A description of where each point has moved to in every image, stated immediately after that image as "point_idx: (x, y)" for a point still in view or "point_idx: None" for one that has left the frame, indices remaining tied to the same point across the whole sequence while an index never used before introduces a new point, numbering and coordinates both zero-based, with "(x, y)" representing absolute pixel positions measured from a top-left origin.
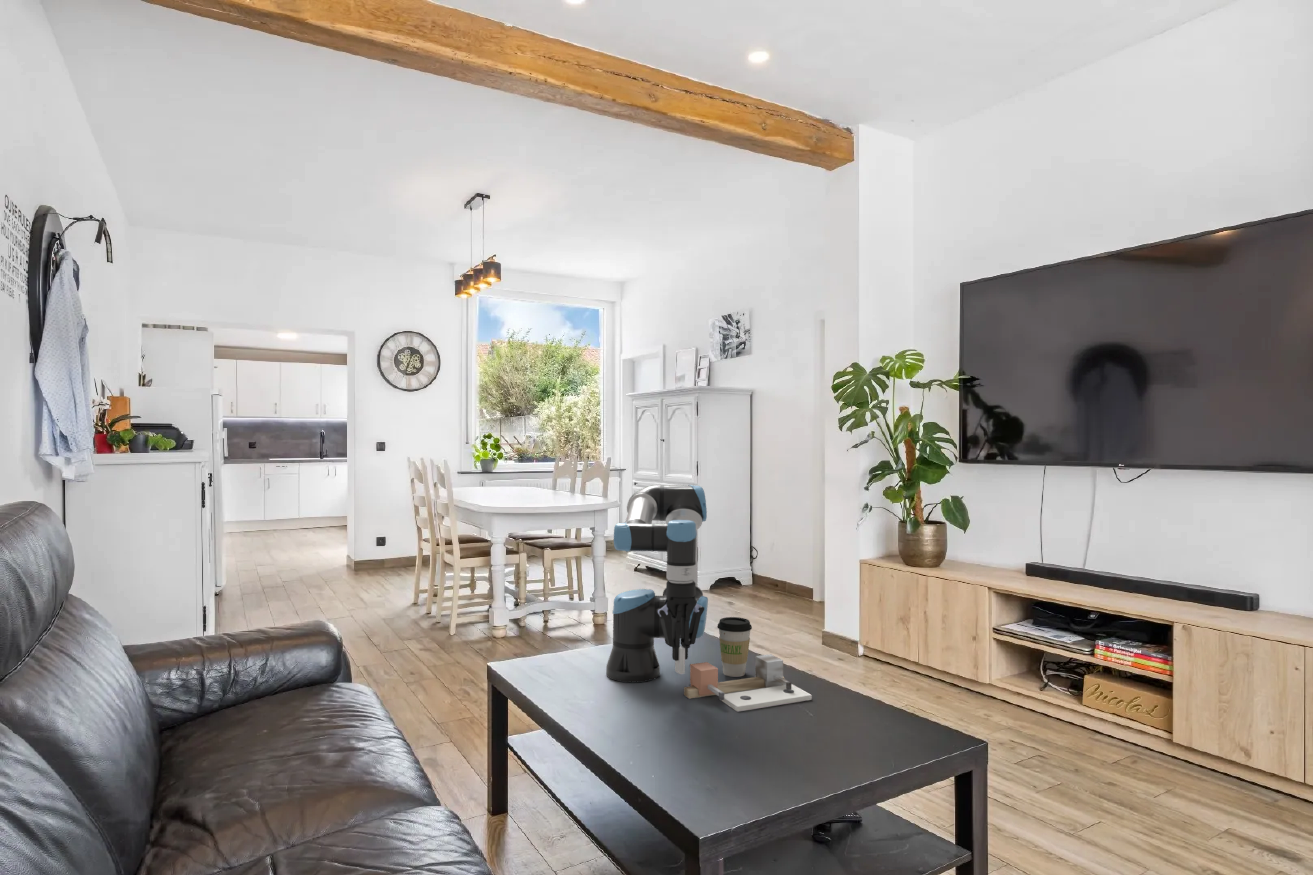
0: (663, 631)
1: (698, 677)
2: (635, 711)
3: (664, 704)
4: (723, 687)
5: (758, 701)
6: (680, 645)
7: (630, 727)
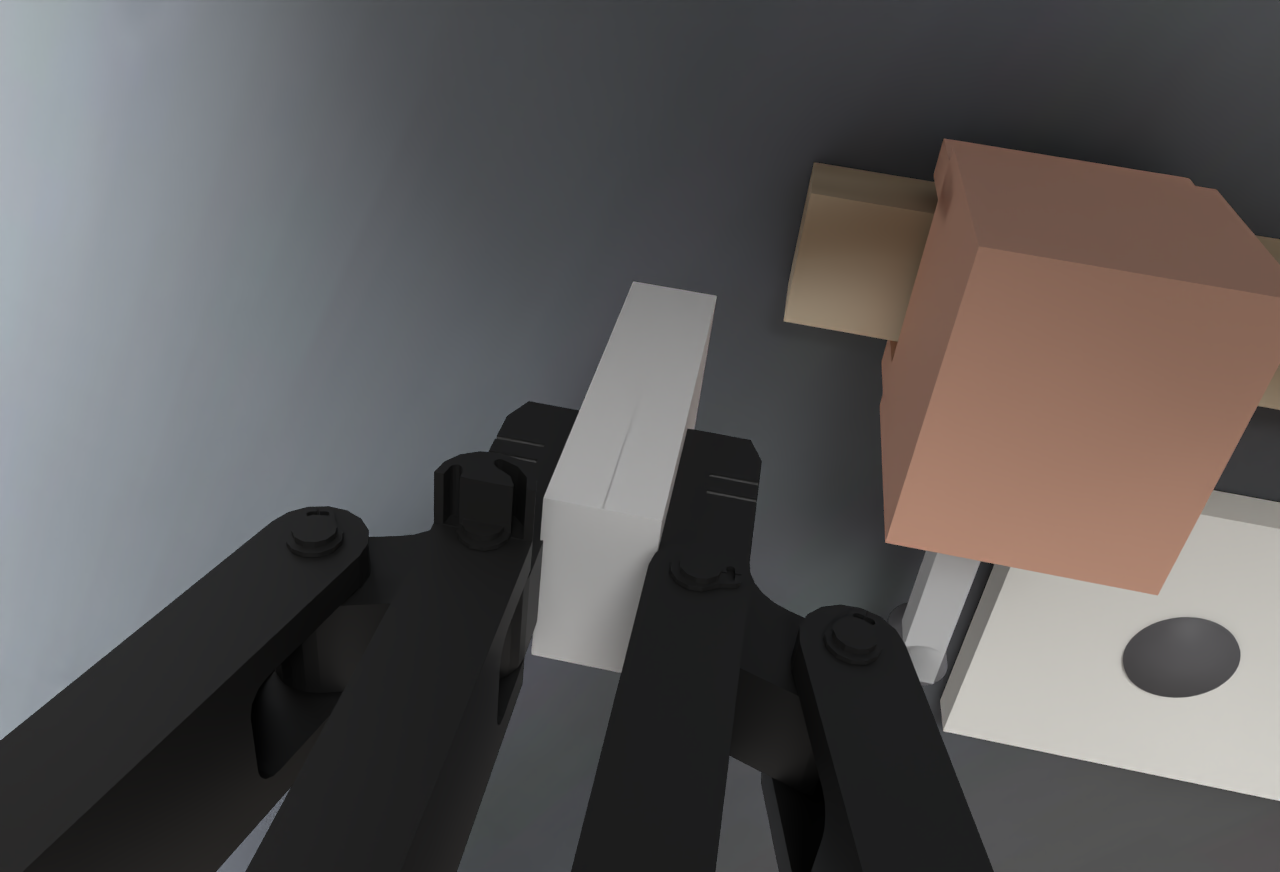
0: (54, 726)
1: (896, 428)
2: (169, 276)
3: (480, 277)
4: None
5: (1196, 752)
6: (659, 521)
7: (65, 499)
